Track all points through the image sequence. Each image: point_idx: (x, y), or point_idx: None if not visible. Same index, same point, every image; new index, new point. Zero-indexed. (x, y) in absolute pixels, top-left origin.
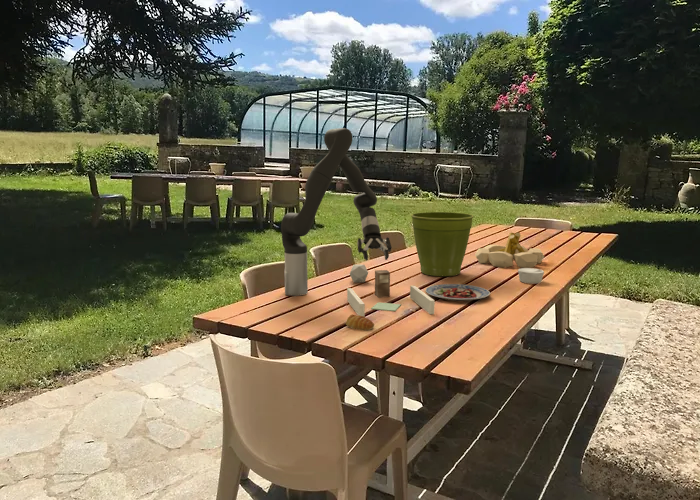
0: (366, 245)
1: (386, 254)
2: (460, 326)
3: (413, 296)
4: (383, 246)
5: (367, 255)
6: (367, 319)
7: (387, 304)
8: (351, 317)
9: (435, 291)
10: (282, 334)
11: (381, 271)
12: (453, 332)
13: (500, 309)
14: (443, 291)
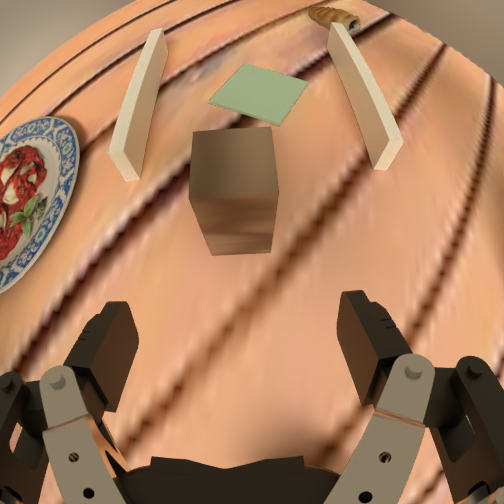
0: (412, 422)
1: (104, 322)
2: (155, 19)
3: (141, 137)
4: (73, 420)
5: (355, 307)
6: (322, 8)
7: (252, 102)
8: (352, 15)
9: (32, 234)
10: (439, 41)
11: (238, 160)
12: (182, 6)
13: (25, 99)
14: (20, 216)
